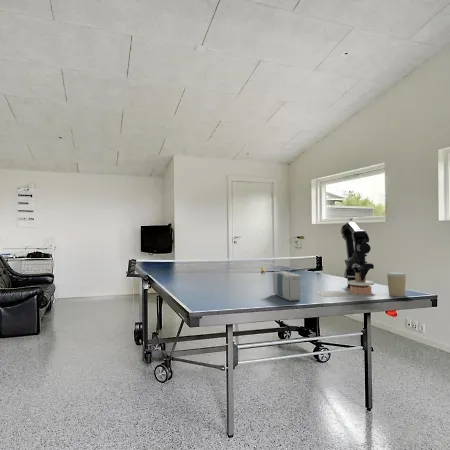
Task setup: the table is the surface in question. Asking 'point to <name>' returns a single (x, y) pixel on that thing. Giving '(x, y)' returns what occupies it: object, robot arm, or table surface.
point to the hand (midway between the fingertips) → (360, 280)
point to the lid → (359, 282)
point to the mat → (332, 293)
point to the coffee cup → (396, 283)
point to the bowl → (360, 289)
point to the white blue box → (287, 285)
